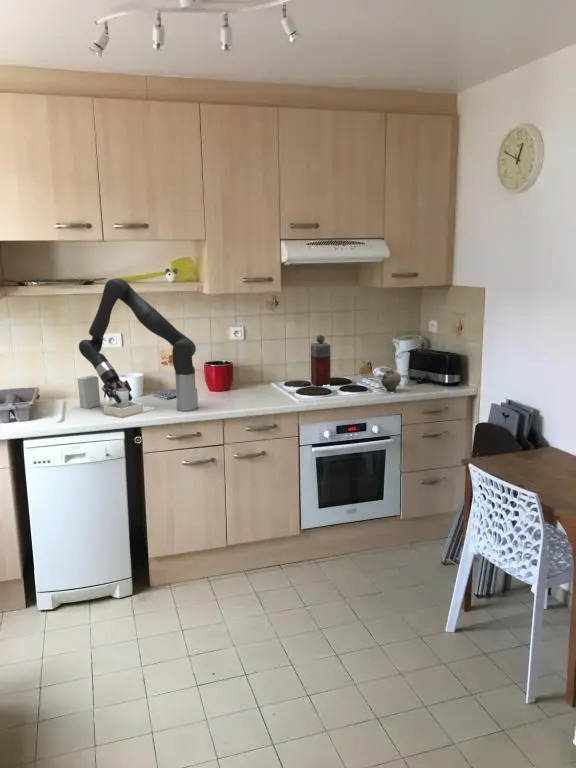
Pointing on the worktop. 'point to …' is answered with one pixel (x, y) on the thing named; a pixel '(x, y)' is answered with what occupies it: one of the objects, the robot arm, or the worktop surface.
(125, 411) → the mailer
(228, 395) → the worktop surface
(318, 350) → the red and grey bottle
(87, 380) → the skincare box
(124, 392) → the jar
